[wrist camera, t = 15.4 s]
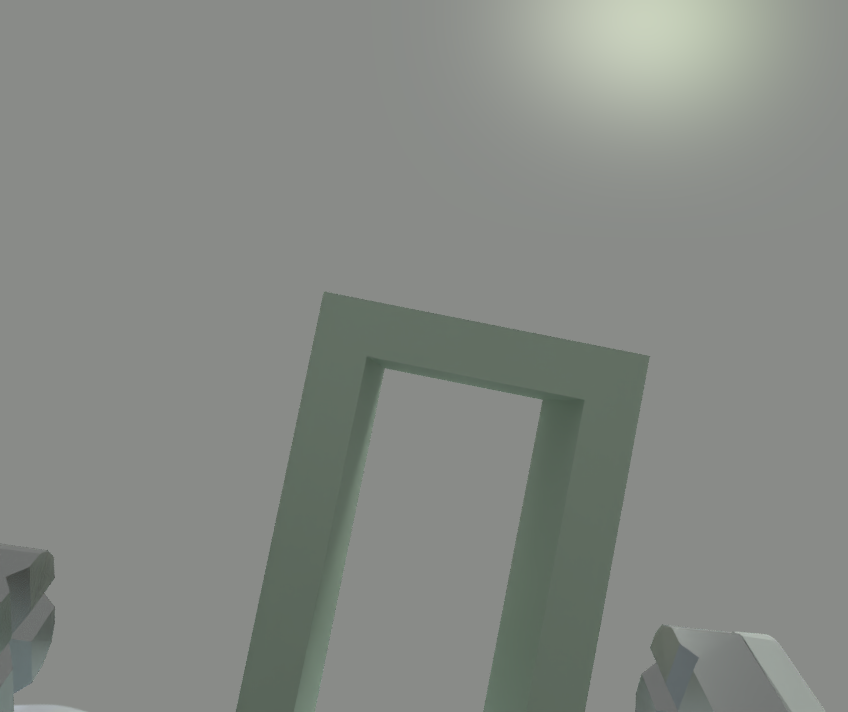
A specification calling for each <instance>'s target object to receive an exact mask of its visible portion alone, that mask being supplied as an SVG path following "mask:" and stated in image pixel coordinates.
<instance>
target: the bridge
mask: <svg viewBox="0 0 848 712" xmlns="http://www.w3.org/2000/svg"><path fill="white" fill-rule="evenodd" d="M649 357H650V356H647V355H642V354H637V353H632V352H626V351H622V350H616V349H611V348H606V347H601V346H596V345H591V344H586V343H581V342H576V341H570V340H566V339H560V338H555V337H551V336H546V335H540V334H536V333H530V332H525V331H520V330H515V329H510V328H505V327H499V326H495V325H490V324H485V323H480V322H475V321H469V320H465V319H460V318H455V317H450V316H445V315H439V314H434V313H429V312H424V311H419V310H414V309H409V308H404V307H399V306H394V305H389V304H384V303H379V302H374V301H368V300H364V299H359V298H353V297H348V296H343V295H338V294H333V293H328V292H324V294H323V298H322V303H321V308H320V313H319V318H318V323H317V327H316V332H315V336H314V341H313V346H312V351H311V356H310V360H309V365H308V370H307V375H306V380H305V384H304V389H303V394H302V399H301V403H300V408H299V413H298V418H297V422H296V427H295V433H294V437H293V442H292V446H291V451H290V456H289V461H288V466H287V470H286V475H285V480H284V485H283V490H282V494H281V499H280V504H279V508H278V513H277V518H276V523H275V528H274V533H273V537H272V542H271V547H270V552H269V556H268V561H267V566H266V571H265V575H264V580H263V585H262V590H261V594H260V599H259V604H258V609H257V613H256V619H255V623H254V628H253V633H252V637H251V642H250V647H249V652H248V656H247V661H246V666H245V671H244V676H243V681H242V685H241V690H240V695H239V700H238V704H237V709H236V712H315V707H316V703H317V698H318V693H319V688H320V683H321V679H322V673H323V669H324V664H325V659H326V654H327V649H328V644H329V639H330V634H331V629H332V624H333V619H334V615H335V610H336V605H337V600H338V595H339V590H340V585H341V579H342V575H343V570H344V565H345V560H346V555H347V551H348V546H349V541H350V536H351V531H352V526H353V521H354V516H355V511H356V506H357V502H358V497H359V491H360V487H361V482H362V477H363V472H364V467H365V462H366V457H367V452H368V447H369V443H370V438H371V433H372V427H373V422H374V418H375V413H376V408H377V403H378V398H379V393H380V388H381V384H382V379H383V373H384V369H385V368H387V369H392V370H397V371H402V372H407V373H412V374H417V375H422V376H427V377H432V378H437V379H442V380H447V381H452V382H457V383H462V384H467V385H472V386H477V387H482V388H487V389H492V390H497V391H502V392H507V393H512V394H517V395H522V396H527V397H532V398H537V399H542V400H543V402H542V407H541V412H540V418H539V422H538V428H537V433H536V438H535V444H534V449H533V454H532V459H531V465H530V470H529V475H528V480H527V486H526V491H525V496H524V502H523V506H522V512H521V517H520V522H519V527H518V533H517V538H516V544H515V548H514V554H513V559H512V564H511V569H510V575H509V580H508V585H507V590H506V596H505V601H504V606H503V611H502V617H501V622H500V628H499V632H498V638H497V643H496V648H495V653H494V658H493V664H492V669H491V675H490V679H489V685H488V690H487V696H486V700H485V706H484V711H483V712H585V707H586V701H587V696H588V691H589V685H590V680H591V674H592V669H593V663H594V658H595V652H596V647H597V641H598V636H599V631H600V625H601V620H602V614H603V609H604V603H605V598H606V592H607V586H608V581H609V575H610V570H611V564H612V559H613V554H614V548H615V543H616V537H617V532H618V526H619V521H620V516H621V510H622V505H623V499H624V494H625V488H626V483H627V477H628V472H629V466H630V461H631V456H632V449H633V445H634V439H635V434H636V428H637V423H638V417H639V412H640V406H641V401H642V395H643V390H644V384H645V379H646V373H647V368H648V363H649Z"/></svg>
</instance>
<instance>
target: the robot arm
mask: <svg viewBox="0 0 848 712" xmlns="http://www.w3.org/2000/svg"><path fill="white" fill-rule="evenodd" d="M54 578H55V577H54V558H53V555H52V554H51V553H50V552H49V551H48V550H42V549H35V548H28V547H21V546H13V545H6V544H0V712H14V699H13V698H14V697H13V694H14V693H15V692H17V691H19V690H20V689H22V688H24V687H26V686H27V685H29V684H31V683H32V682H33V680H34V679H35V677H36V675H37V674H38V672H39V670H40V669H41V667H42V665H43V663H44V660H45V658H46V655H47V652H48V650H49V647H50V644H51V641H52V635H53V630H54V624H55V607H54V605H53V604H52V603H51V601H50V600H49V599H48V597H47V596H46V595H45V594H44V592H45V591H46V590H47V588H48V587H49V585H50V584H51V582H52V581H53V580H54ZM650 648H651V651H652V653H653V655H654V658H655V660H656V663H655V664H654V665H652V666H651V667H650V668H649V669H647V670H646V671H645V672H643V673H642V675H641V678H640V682H639V685H638V689H637V692H636V710H635V712H825V710H824V709H823V707H822V706H821V704H820V703H819V701H818V700H817V698H816V697H815V695H814V694H813V693H812V691H811V690H810V688H809V687H808V685H807V684H806V682H805V681H804V679H803V678H802V676H801V675H800V673H799V672H798V670H797V669H796V668H795V666H794V665H793V663H792V662H791V660H790V659H789V657H788V656H787V654H786V653H785V651H784V650H783V649H782V647H781V646H780V644H779V643H778V641H776V640H775V639H774V638H772V637H771V636H769V635H766V634H755V633H744V632H731V633H730V632H722V631H713V630H705V629H696V628H687V627H679V626H669V625H662V626H661V627H660V628H659V629H658V631H657V632H656V633H655V636H654V639H653V642H652V644H651V647H650Z"/></svg>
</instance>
